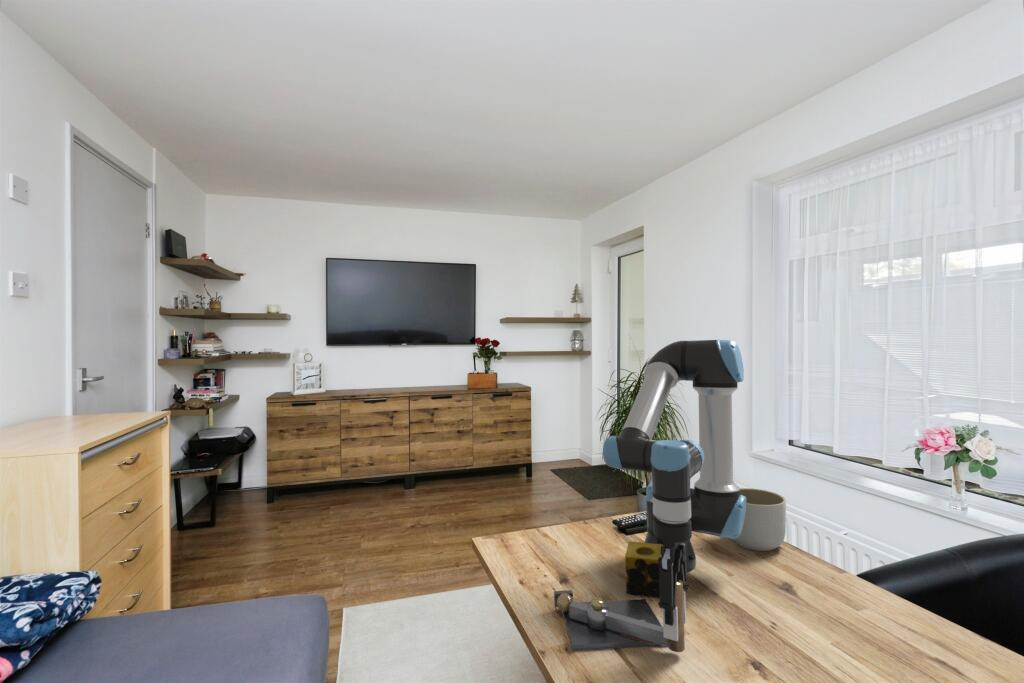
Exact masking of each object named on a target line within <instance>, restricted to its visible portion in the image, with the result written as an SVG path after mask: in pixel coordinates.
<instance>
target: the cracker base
mask: <svg viewBox="0 0 1024 683" xmlns="http://www.w3.org/2000/svg"><path fill="white" fill-rule="evenodd" d="M573 595H574V592H573V590H572V589H569V590H568V589H566V590H554V591H553V602H554V607H555V608H558V610H559V611H560V612H562V616H563V619H564V624H565V627H566V632H567V634H568V638H569V639H568V640H569V643H570V646H571V649H572V651H573V652H574V651H588V650H589V651H591V650H593V651H594V650H607V649H608V650H609V649H610V650H611V649H625V648H627V649H628V648H642V647H643V648H645V647H646V648H647V647H658V646H659V647H661V646H662V647H664V646H663V645H659V644H656V643H653V642H650V641H646V640H643V639H640V638H637V637H633V636H630V635H627V634H624V633H620V632H617V631H614V630H611V629H607V628H605V629H602V630H598V629H593V628H591V627H590V626H589V625H588V623H585V622H582V621H579V620H575V619H572V618H570V614H569V605H570V604H571V603H572V602H573V601H574V596H573ZM580 603H584V604H587V605H588V604H590V603H592V608H593V609H595V610H601V609H603V608H604V605H603V604H605V605H607V606H608V608H609V612H612V613H616V614H619V615H623V616H626V617H630V618H633V619H637V620H640V621H644V622H647V623H651V624H654V625H657V626H661V627H663V624H662V623H661V622H660V621H659V619H658V618H657V615H656V614H655V612H654V611H653V609H652V607H651V606H650V604H649V602H648V601H647V599H646V598H638V599H619V600H616V599H615V600H604V599H603V598H601V597H599V596H597V597H593V598H591V601H581V602H580Z"/></svg>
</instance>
